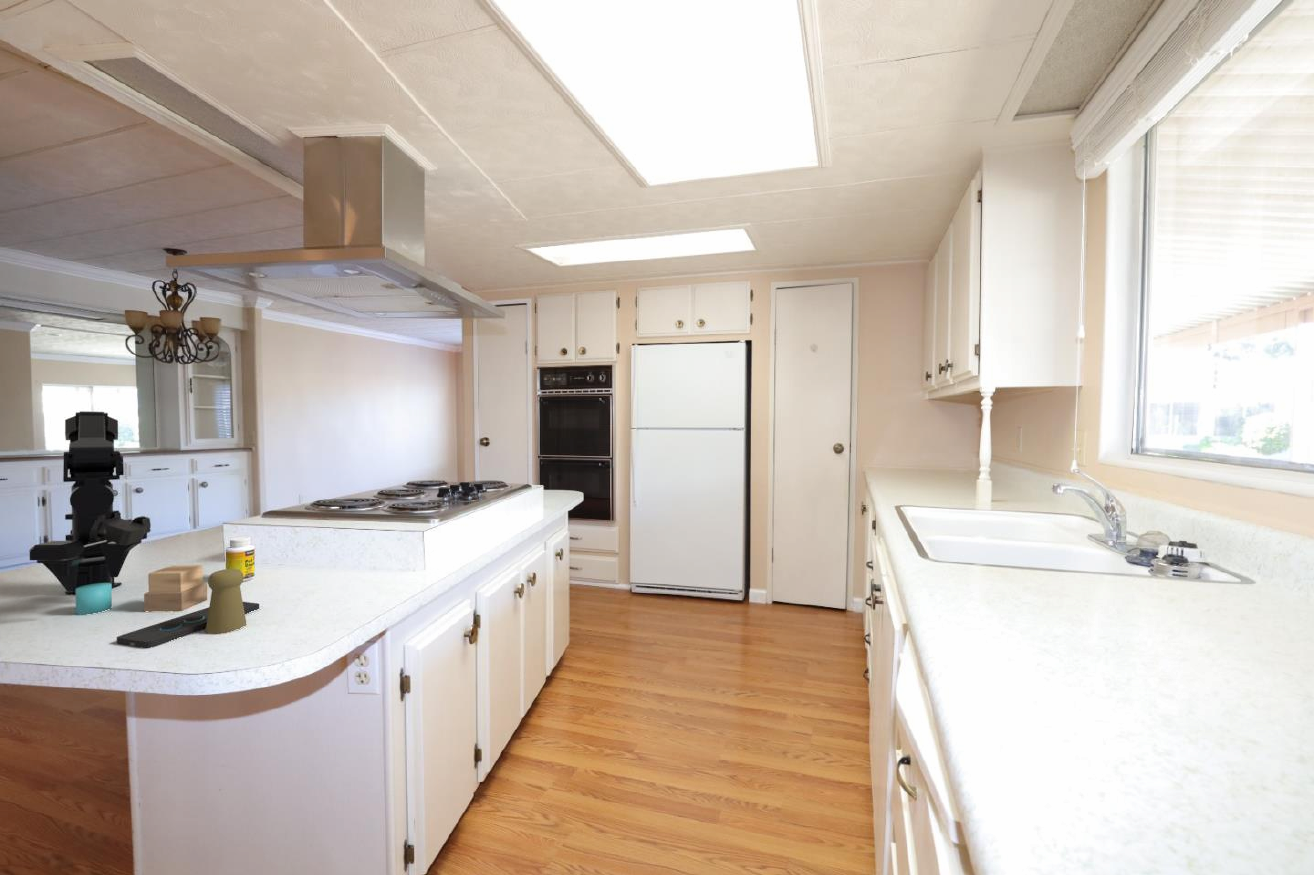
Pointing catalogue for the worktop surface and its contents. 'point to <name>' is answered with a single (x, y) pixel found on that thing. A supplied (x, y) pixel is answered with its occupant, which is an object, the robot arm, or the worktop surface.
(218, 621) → the olive pawn piece
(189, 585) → the oak top block
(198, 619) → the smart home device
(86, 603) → the teal cylinder
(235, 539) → the supplement bottle
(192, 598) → the brown wooden base block
